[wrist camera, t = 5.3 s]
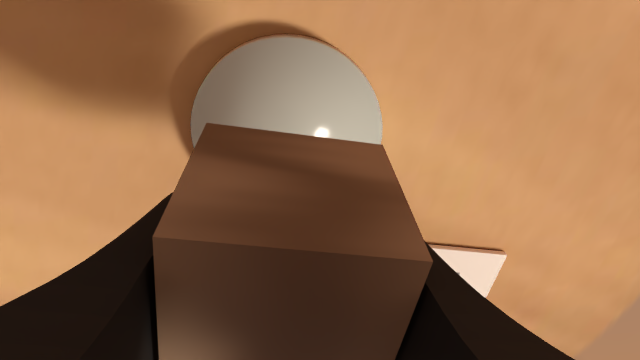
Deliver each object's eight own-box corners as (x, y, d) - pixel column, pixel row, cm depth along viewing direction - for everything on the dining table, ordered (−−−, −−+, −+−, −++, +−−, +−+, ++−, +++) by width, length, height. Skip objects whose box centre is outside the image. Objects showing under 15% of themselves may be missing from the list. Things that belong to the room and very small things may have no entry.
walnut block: (203, 260, 14) (161, 408, 9) (206, 122, 11) (152, 236, 7) (348, 272, 14) (372, 415, 10) (382, 144, 12) (432, 261, 8)
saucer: (193, 196, 19) (189, 205, 19) (195, 18, 15) (191, 21, 15) (358, 213, 20) (360, 222, 20) (399, 50, 16) (404, 55, 16)
